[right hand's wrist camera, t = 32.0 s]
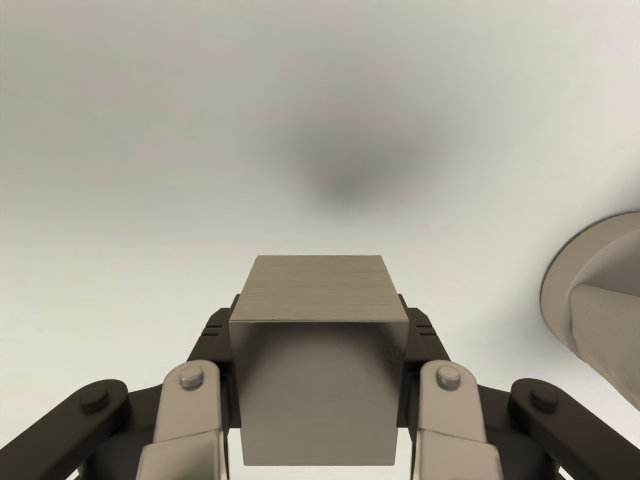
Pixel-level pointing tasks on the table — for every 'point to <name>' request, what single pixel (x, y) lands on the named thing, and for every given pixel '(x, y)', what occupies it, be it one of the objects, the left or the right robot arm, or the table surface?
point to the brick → (318, 361)
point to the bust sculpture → (600, 301)
